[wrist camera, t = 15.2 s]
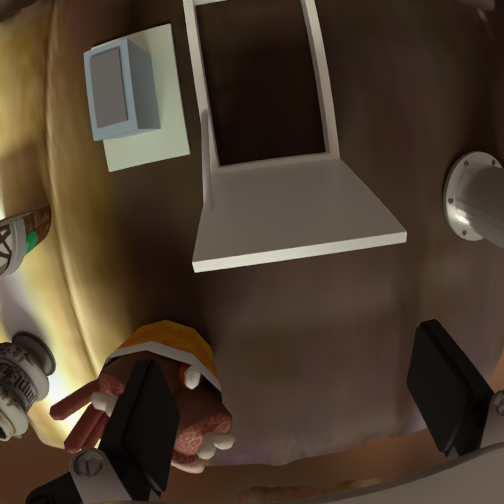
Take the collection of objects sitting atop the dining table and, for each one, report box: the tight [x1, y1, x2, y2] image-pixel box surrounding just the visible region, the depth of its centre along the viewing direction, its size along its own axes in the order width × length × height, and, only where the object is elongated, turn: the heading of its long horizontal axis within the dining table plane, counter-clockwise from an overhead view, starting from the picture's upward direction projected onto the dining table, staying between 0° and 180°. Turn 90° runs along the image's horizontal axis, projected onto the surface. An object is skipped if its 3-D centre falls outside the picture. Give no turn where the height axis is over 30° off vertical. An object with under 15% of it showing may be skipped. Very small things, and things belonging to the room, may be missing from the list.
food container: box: [0, 204, 51, 277], centre depth 33 cm, size 12×6×10 cm, turn 99°
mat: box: [91, 24, 191, 172], centre depth 32 cm, size 10×16×1 cm, turn 8°
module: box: [84, 38, 161, 141], centre depth 28 cm, size 4×9×8 cm, turn 8°
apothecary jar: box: [0, 331, 56, 441], centre depth 37 cm, size 12×12×18 cm
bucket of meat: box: [49, 320, 235, 473], centre depth 35 cm, size 20×16×20 cm
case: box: [183, 0, 407, 272], centre depth 24 cm, size 14×26×18 cm, turn 8°
